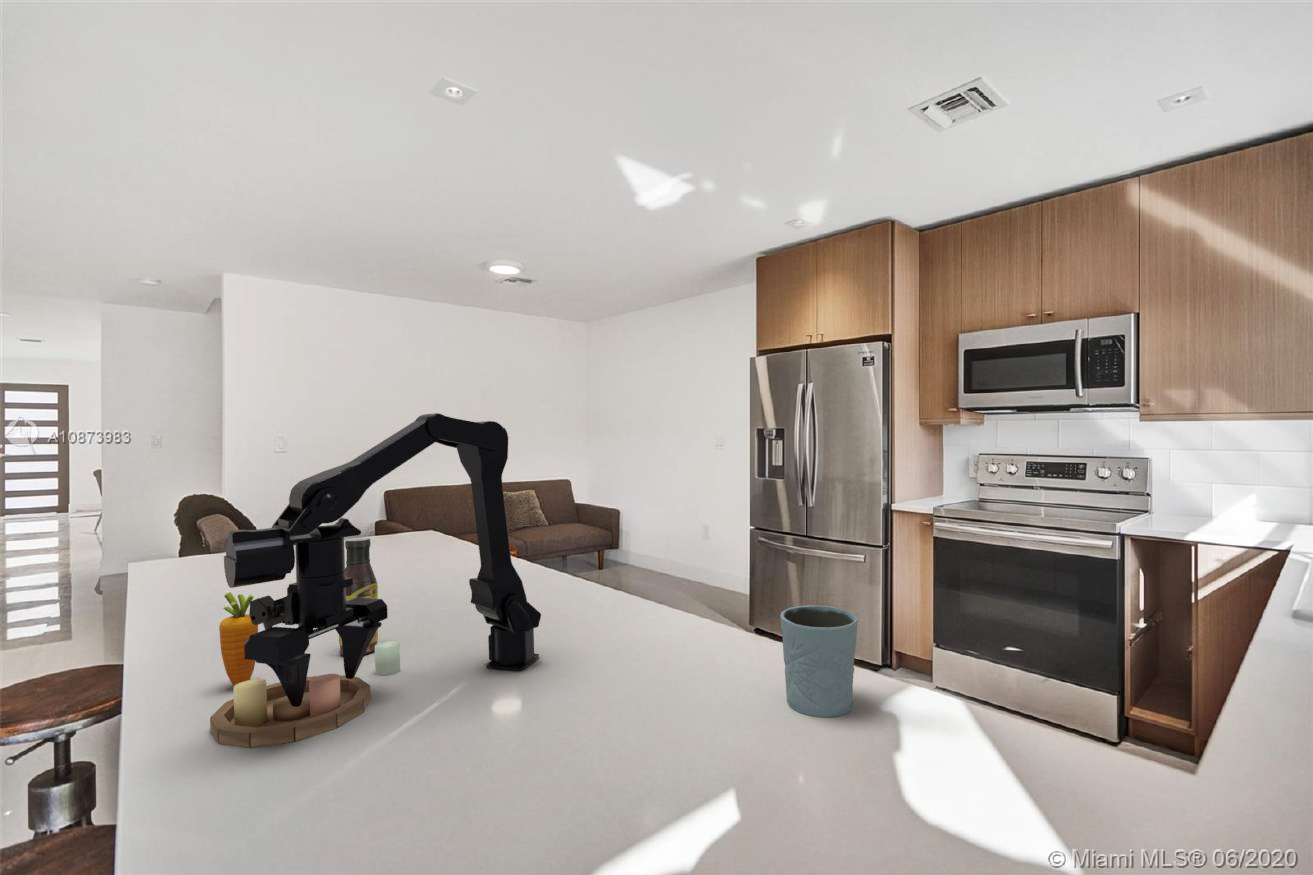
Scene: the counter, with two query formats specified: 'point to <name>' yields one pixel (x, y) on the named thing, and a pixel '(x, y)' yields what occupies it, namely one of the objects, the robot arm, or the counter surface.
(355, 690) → the groove tray
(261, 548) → the robot arm
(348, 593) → the sauce bottle
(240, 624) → the carrot
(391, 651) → the bead sage
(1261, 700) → the counter surface
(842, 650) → the teal embossed cup
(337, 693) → the bead coral
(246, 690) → the bead mustard
